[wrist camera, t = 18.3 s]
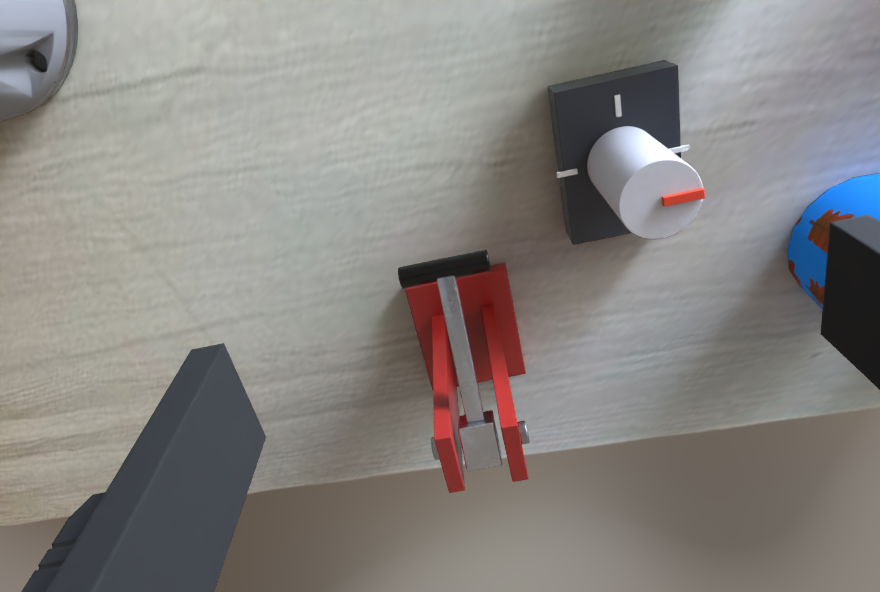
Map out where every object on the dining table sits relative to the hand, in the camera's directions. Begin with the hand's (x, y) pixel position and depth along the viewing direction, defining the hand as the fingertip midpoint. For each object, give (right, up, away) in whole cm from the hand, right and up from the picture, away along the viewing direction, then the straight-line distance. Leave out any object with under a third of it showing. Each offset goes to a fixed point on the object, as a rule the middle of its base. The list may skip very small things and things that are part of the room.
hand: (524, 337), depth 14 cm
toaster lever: (0, -3, +26) cm, 26 cm away
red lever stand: (0, -2, +38) cm, 38 cm away
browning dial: (+11, +10, +29) cm, 33 cm away
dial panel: (+11, +11, +31) cm, 35 cm away
